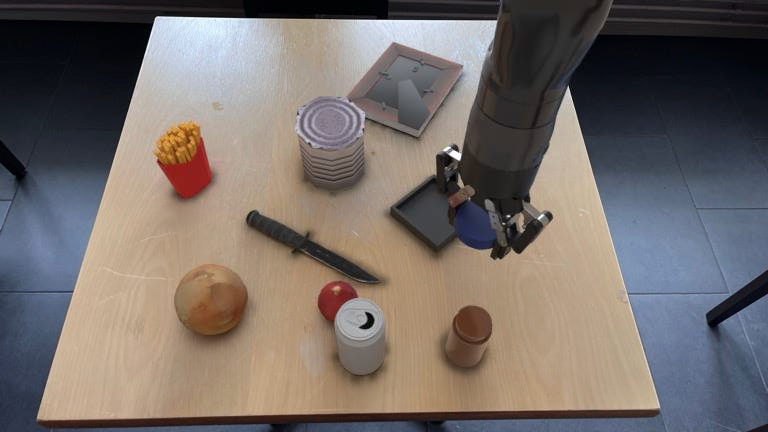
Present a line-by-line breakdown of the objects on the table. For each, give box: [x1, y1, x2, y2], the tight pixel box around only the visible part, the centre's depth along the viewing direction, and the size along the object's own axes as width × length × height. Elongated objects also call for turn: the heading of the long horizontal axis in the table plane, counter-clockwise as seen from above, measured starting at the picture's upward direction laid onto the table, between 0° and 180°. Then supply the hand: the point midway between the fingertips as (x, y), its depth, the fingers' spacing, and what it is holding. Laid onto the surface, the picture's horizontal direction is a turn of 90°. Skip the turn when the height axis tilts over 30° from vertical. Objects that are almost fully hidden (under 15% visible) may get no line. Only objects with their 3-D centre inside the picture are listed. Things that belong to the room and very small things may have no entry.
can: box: [294, 95, 366, 194], centre depth 89 cm, size 11×11×12 cm
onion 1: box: [173, 263, 249, 336], centre depth 73 cm, size 10×10×10 cm
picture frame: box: [346, 41, 464, 138], centre depth 105 cm, size 16×2×22 cm
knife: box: [245, 209, 382, 283], centre depth 82 cm, size 24×5×3 cm, turn 55°
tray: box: [389, 173, 470, 254], centre depth 87 cm, size 11×11×2 cm
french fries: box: [152, 119, 213, 199], centre depth 86 cm, size 8×4×12 cm, turn 145°
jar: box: [444, 304, 494, 369], centre depth 70 cm, size 5×5×10 cm
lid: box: [454, 201, 497, 251], centre depth 59 cm, size 6×6×2 cm
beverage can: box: [333, 297, 386, 376], centre depth 69 cm, size 6×6×12 cm
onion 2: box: [317, 280, 359, 323], centre depth 74 cm, size 6×6×8 cm
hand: (476, 237), depth 62 cm, fingers closed on lid, 5 cm apart
